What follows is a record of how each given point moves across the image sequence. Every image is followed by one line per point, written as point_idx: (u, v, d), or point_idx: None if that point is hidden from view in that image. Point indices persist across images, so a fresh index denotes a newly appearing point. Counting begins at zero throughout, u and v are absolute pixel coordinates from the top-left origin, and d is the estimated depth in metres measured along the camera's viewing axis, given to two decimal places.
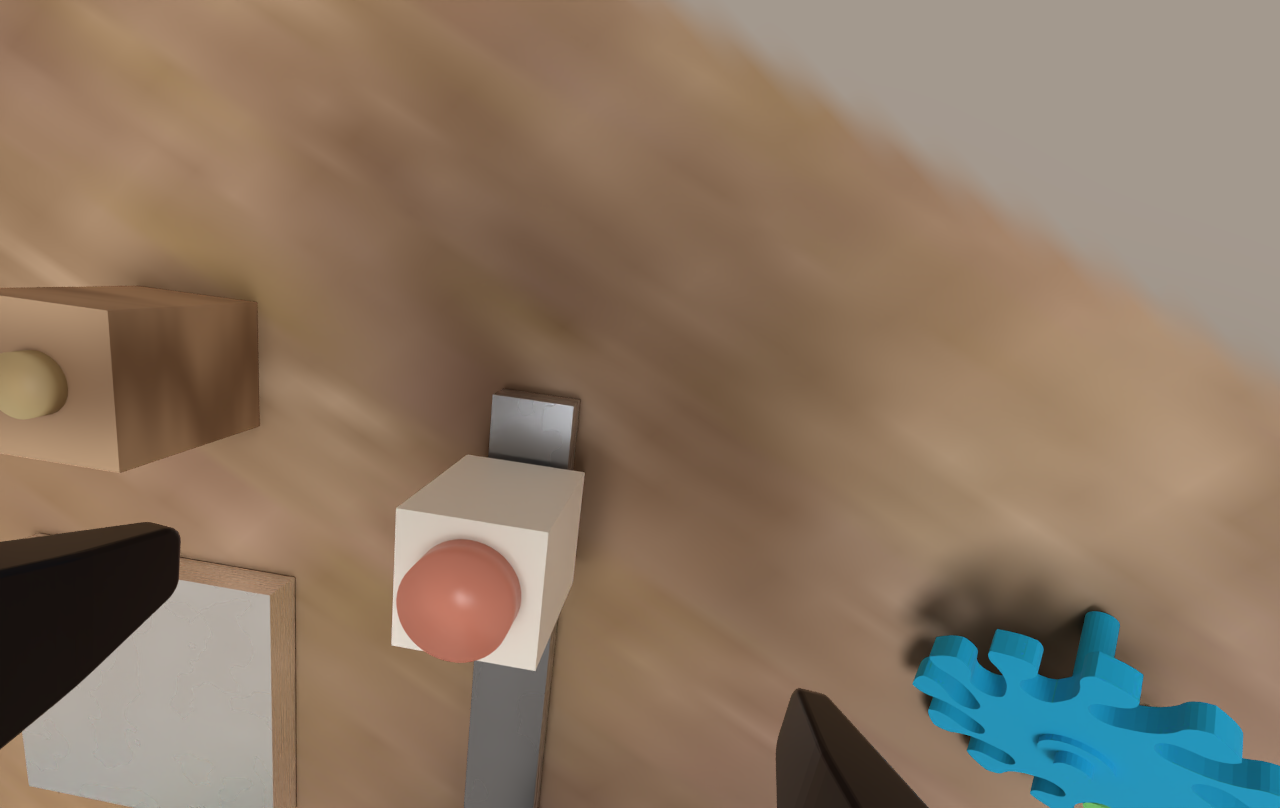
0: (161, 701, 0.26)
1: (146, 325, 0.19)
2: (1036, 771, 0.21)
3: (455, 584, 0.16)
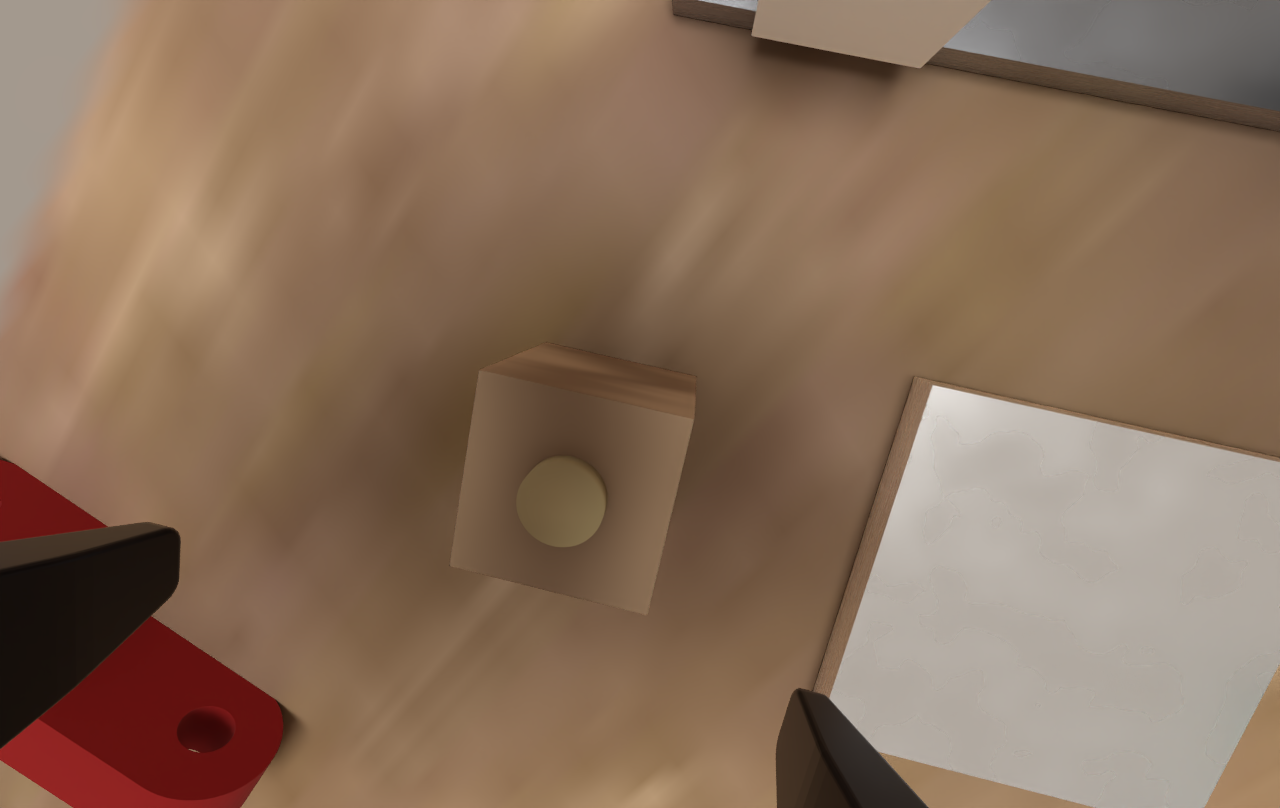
0: (1081, 593, 0.18)
1: (517, 367, 0.15)
2: None
3: None
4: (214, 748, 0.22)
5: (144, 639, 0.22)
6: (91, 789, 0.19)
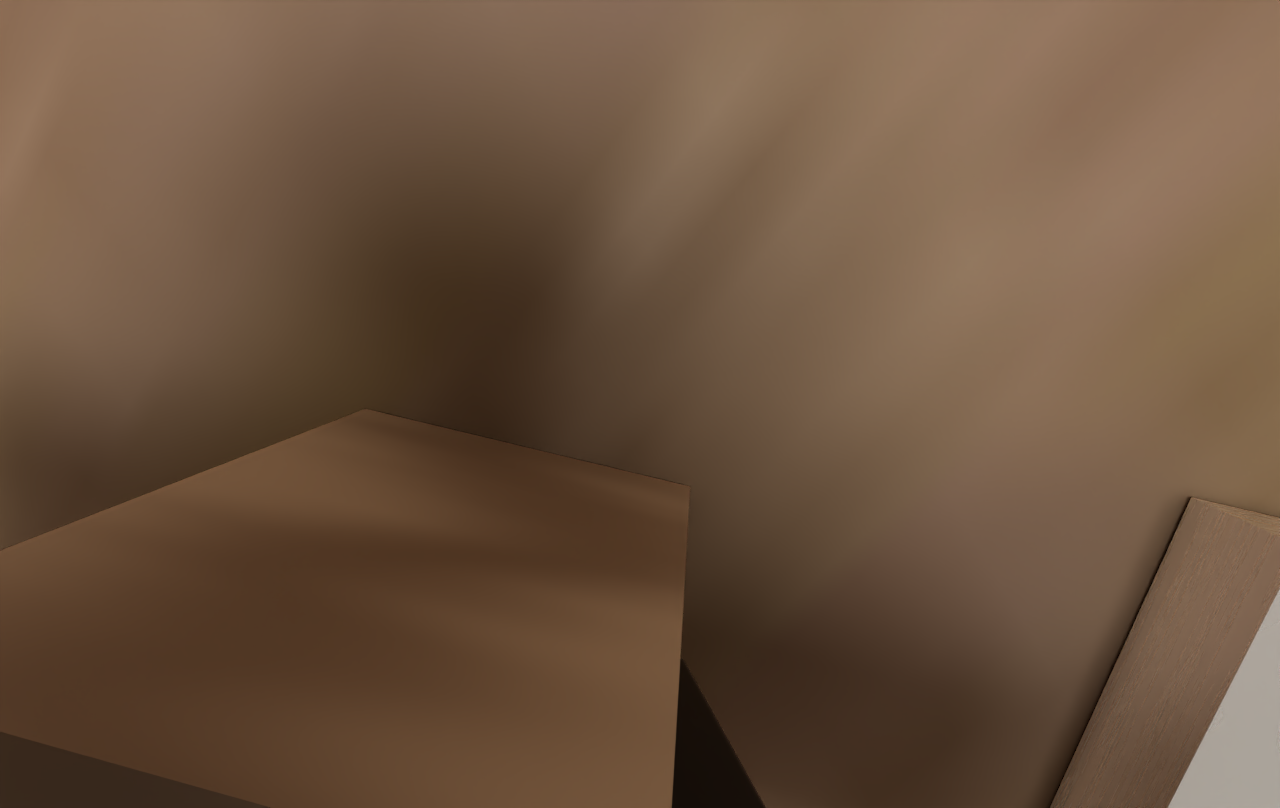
0: None
1: (66, 568, 0.04)
2: None
3: None
4: None
5: None
6: None
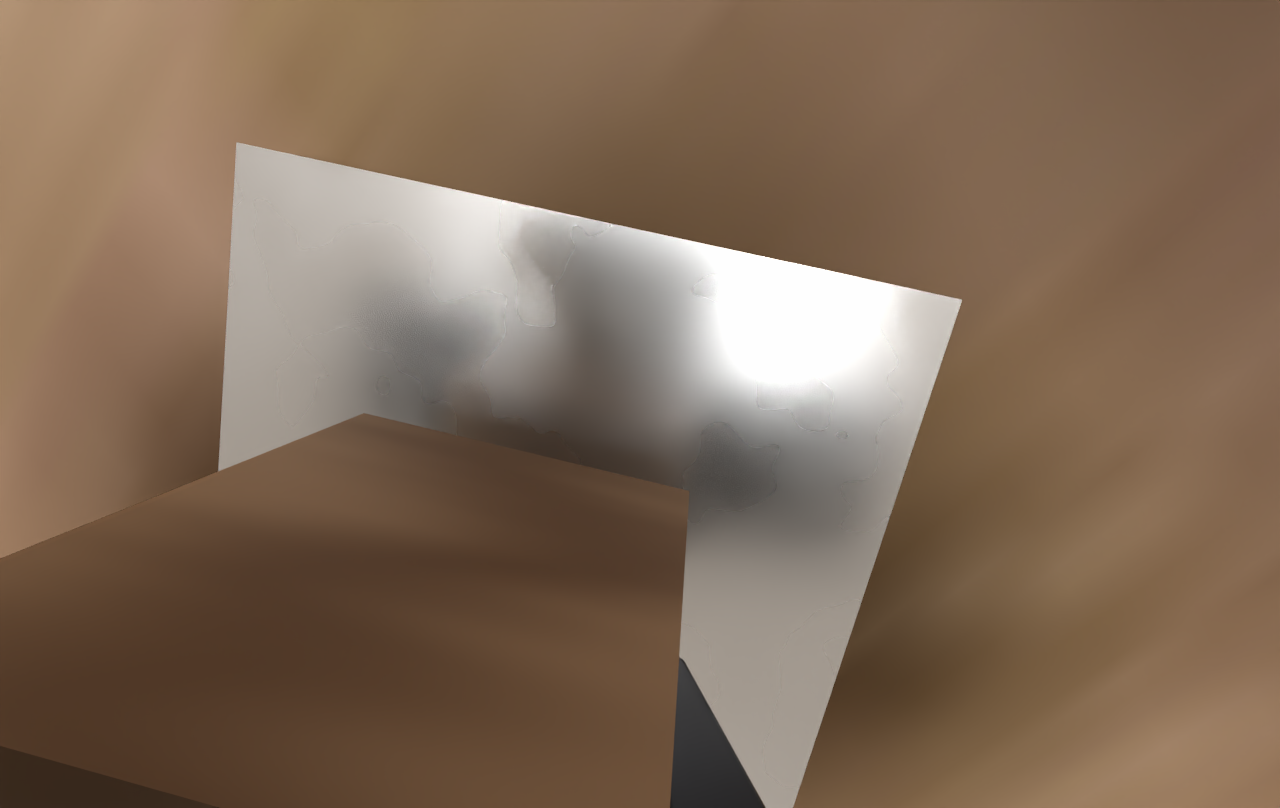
0: None
1: (62, 577, 0.04)
2: None
3: None
4: None
5: None
6: None
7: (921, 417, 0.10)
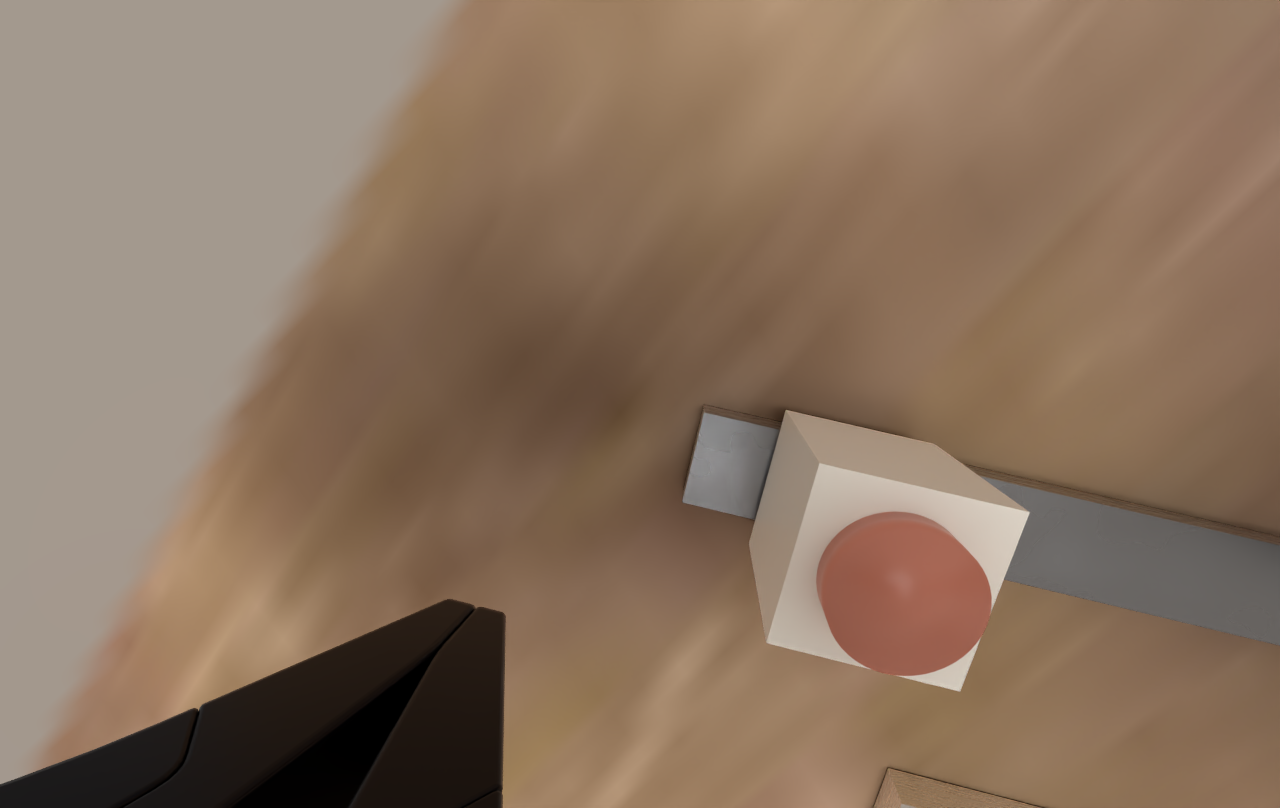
0: None
1: None
2: None
3: (870, 594, 0.12)
4: None
5: None
6: None
7: None
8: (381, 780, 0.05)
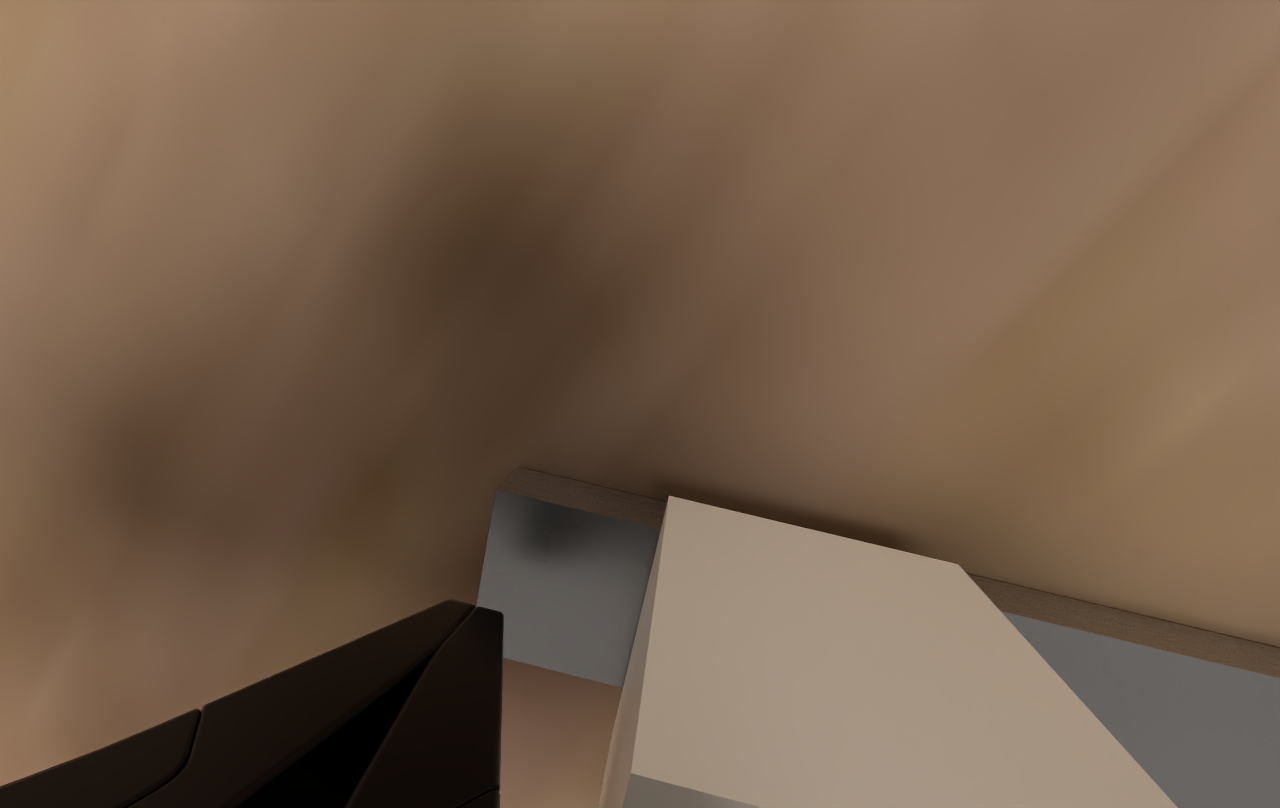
0: None
1: None
2: None
3: None
4: None
5: None
6: None
7: None
8: (377, 780, 0.05)
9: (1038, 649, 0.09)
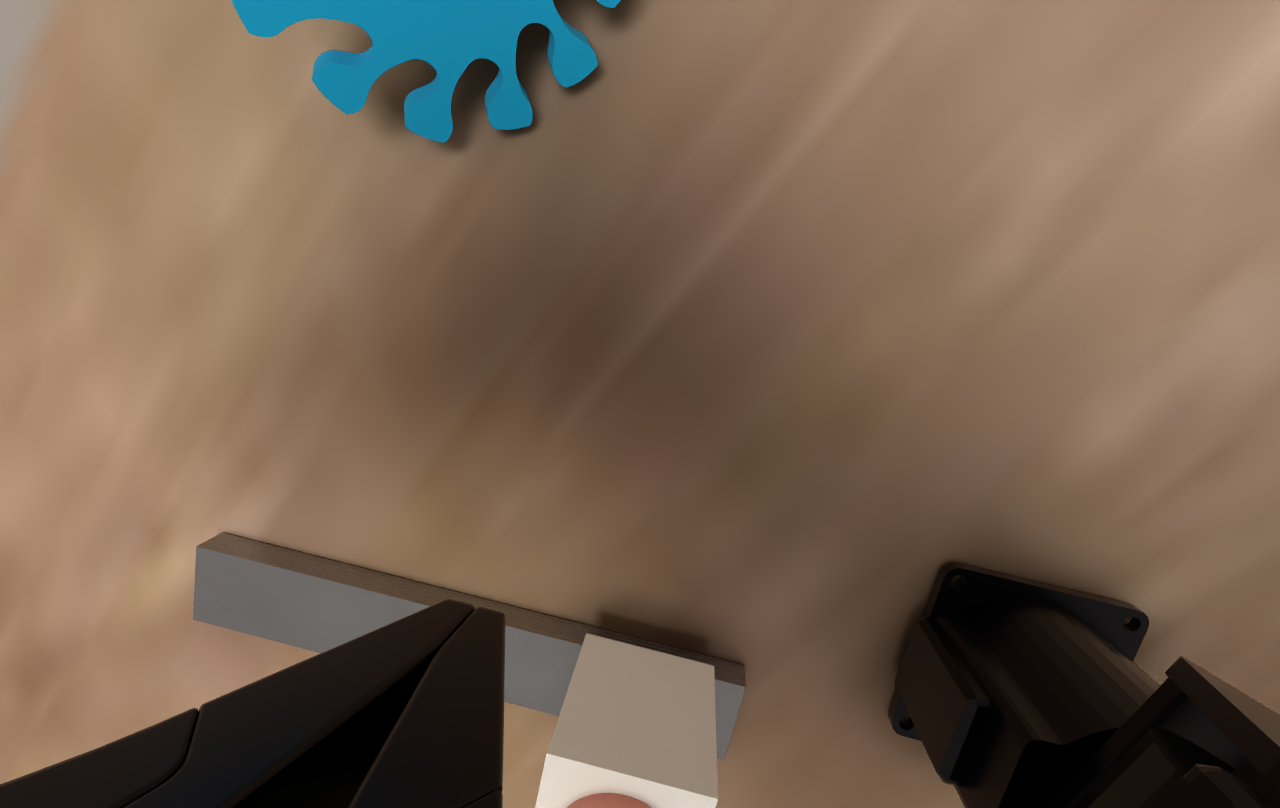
0: None
1: None
2: None
3: None
4: None
5: None
6: None
7: None
8: (381, 780, 0.05)
9: None
